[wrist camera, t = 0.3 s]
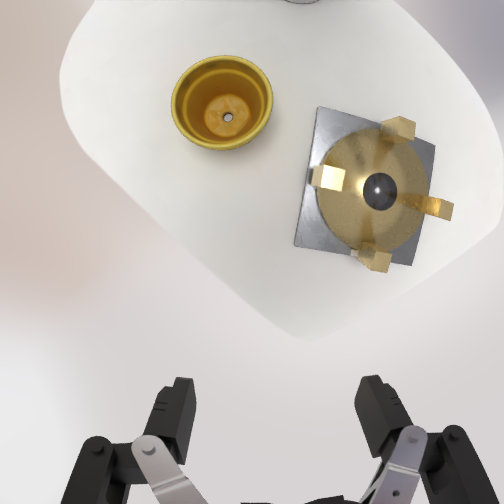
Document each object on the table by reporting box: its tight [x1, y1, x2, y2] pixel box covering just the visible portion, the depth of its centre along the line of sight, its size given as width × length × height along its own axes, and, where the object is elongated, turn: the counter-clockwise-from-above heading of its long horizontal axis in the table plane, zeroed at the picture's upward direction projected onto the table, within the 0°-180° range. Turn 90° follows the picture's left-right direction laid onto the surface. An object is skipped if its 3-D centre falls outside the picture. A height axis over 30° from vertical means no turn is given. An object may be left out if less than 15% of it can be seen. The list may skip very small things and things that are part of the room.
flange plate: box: [294, 106, 435, 266], centre depth 35 cm, size 19×19×1 cm
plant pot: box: [171, 55, 273, 150], centre depth 29 cm, size 10×10×10 cm
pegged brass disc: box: [311, 116, 454, 273], centre depth 32 cm, size 19×19×6 cm
